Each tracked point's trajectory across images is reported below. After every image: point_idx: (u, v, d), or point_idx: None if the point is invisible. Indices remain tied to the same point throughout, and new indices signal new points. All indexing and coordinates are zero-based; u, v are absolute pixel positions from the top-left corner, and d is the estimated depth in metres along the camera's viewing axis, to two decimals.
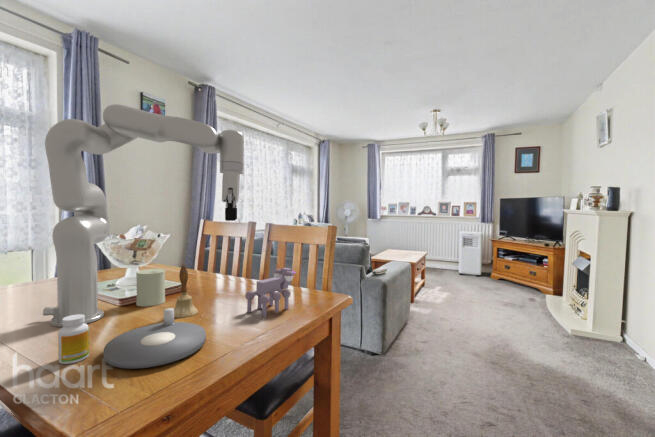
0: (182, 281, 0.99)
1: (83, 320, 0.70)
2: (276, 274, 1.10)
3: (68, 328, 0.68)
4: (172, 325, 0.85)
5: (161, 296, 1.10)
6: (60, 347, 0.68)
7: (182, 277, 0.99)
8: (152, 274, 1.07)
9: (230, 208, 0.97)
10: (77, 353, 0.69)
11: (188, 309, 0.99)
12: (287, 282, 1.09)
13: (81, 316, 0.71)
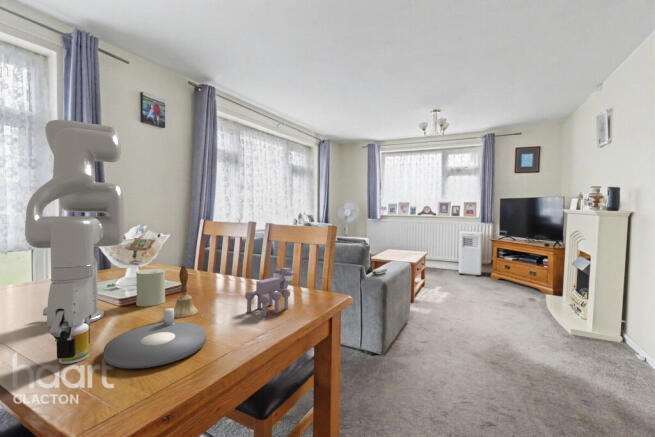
0: (182, 281, 0.99)
1: (83, 320, 0.70)
2: (276, 274, 1.10)
3: (68, 328, 0.68)
4: (172, 325, 0.85)
5: (161, 296, 1.10)
6: None
7: (182, 277, 0.99)
8: (152, 274, 1.07)
9: (63, 342, 0.66)
10: (77, 353, 0.69)
11: (188, 309, 0.99)
12: (287, 282, 1.10)
13: None
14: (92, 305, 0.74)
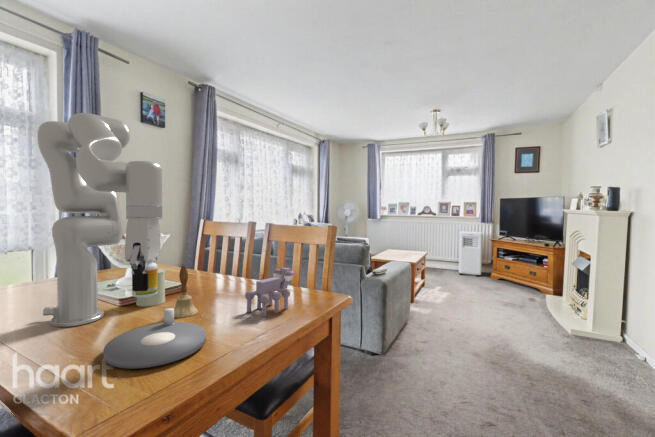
0: (182, 281, 0.99)
1: (153, 258, 0.75)
2: (275, 274, 1.10)
3: (141, 264, 0.73)
4: (172, 325, 0.85)
5: (161, 296, 1.10)
6: None
7: (182, 277, 0.99)
8: None
9: (139, 275, 0.70)
10: (149, 288, 0.73)
11: (188, 309, 0.99)
12: (286, 282, 1.10)
13: None
14: (159, 247, 0.78)
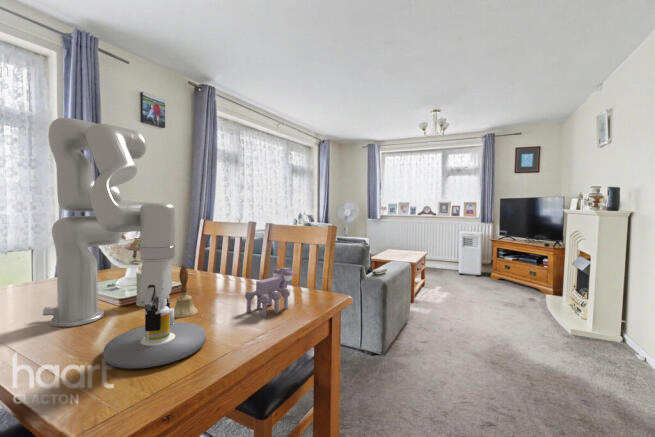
0: (182, 281, 0.99)
1: (166, 302, 0.76)
2: (275, 274, 1.10)
3: None
4: (172, 325, 0.85)
5: None
6: None
7: (182, 277, 0.99)
8: None
9: (152, 315, 0.71)
10: (162, 332, 0.75)
11: (188, 309, 0.99)
12: (286, 282, 1.10)
13: (164, 299, 0.77)
14: (171, 284, 0.80)
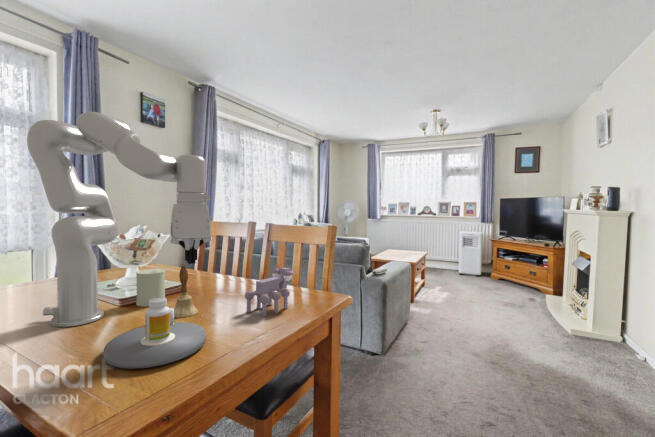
0: (182, 281, 0.99)
1: (166, 302, 0.76)
2: (275, 274, 1.11)
3: (154, 309, 0.74)
4: (172, 325, 0.85)
5: (161, 296, 1.10)
6: (148, 327, 0.74)
7: (182, 277, 0.99)
8: (152, 274, 1.07)
9: (185, 250, 0.87)
10: (162, 332, 0.75)
11: (188, 309, 0.99)
12: (286, 282, 1.10)
13: (164, 299, 0.77)
14: (206, 230, 0.88)
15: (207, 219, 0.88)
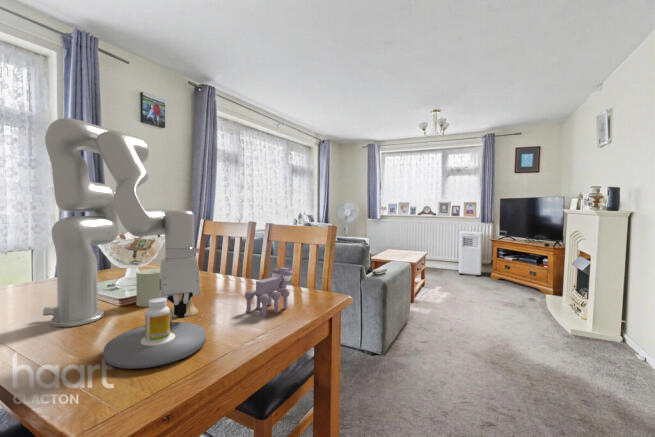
0: None
1: (166, 302, 0.77)
2: (274, 274, 1.11)
3: (154, 309, 0.74)
4: (170, 325, 0.85)
5: None
6: (148, 327, 0.74)
7: None
8: (152, 274, 1.07)
9: (174, 304, 0.87)
10: (163, 332, 0.75)
11: (188, 309, 0.99)
12: (285, 282, 1.10)
13: (164, 299, 0.77)
14: (195, 284, 0.88)
15: (196, 273, 0.88)
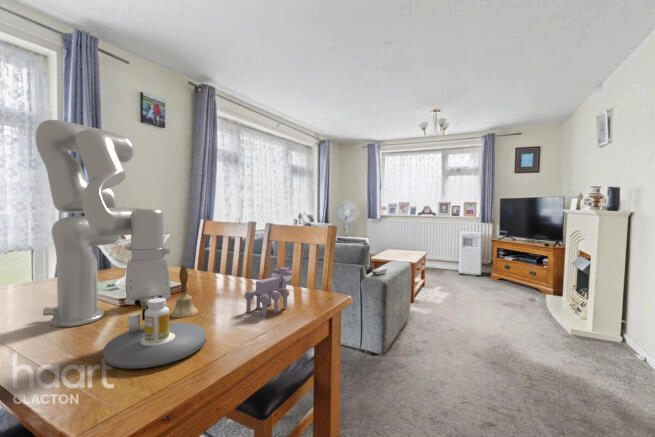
0: (182, 281, 0.99)
1: None
2: (274, 274, 1.11)
3: (160, 309, 0.75)
4: (142, 330, 0.81)
5: None
6: (156, 327, 0.74)
7: (182, 277, 0.99)
8: None
9: (142, 309, 0.81)
10: (168, 329, 0.77)
11: (188, 309, 0.99)
12: (285, 282, 1.10)
13: (161, 298, 0.77)
14: (164, 287, 0.83)
15: (165, 275, 0.83)
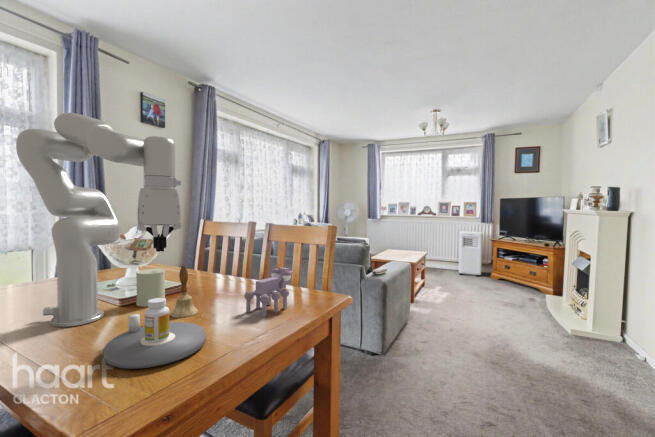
0: (182, 281, 0.99)
1: None
2: (274, 274, 1.11)
3: (160, 309, 0.75)
4: (142, 330, 0.81)
5: (161, 296, 1.10)
6: (156, 327, 0.74)
7: (182, 277, 0.99)
8: (152, 274, 1.07)
9: (153, 237, 0.83)
10: (168, 329, 0.77)
11: (188, 309, 0.99)
12: (285, 281, 1.10)
13: (161, 298, 0.77)
14: (175, 216, 0.84)
15: (177, 205, 0.84)
